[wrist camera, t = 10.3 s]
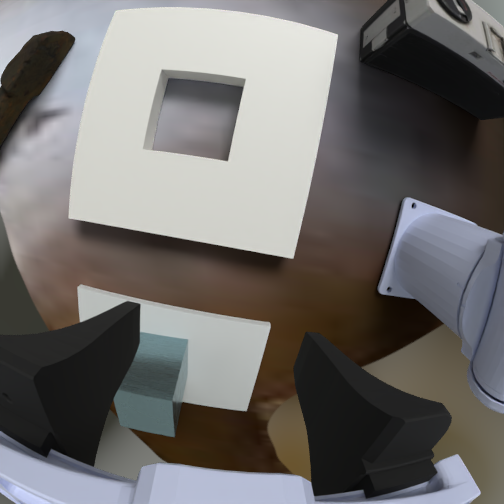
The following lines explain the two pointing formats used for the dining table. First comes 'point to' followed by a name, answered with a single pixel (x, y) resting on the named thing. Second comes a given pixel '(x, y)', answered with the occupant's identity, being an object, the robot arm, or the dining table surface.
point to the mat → (198, 346)
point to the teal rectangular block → (154, 385)
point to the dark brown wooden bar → (30, 74)
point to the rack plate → (199, 168)
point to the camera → (441, 50)
